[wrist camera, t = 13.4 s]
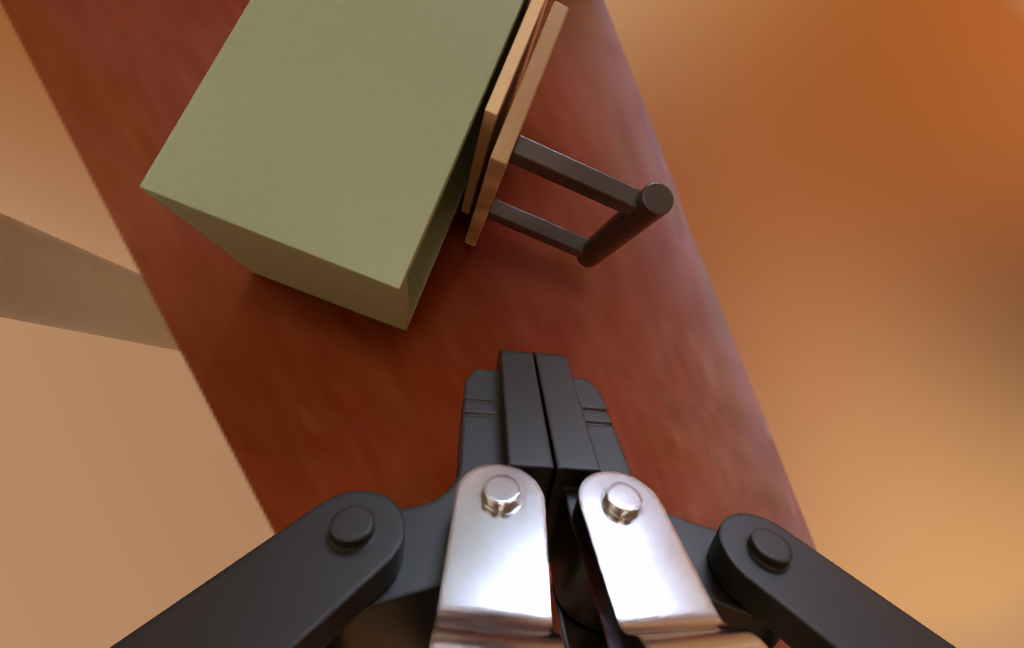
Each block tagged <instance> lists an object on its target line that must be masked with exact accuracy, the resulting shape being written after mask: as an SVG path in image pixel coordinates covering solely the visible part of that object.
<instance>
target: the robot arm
mask: <svg viewBox="0 0 1024 648" xmlns="http://www.w3.org/2000/svg"><path fill="white" fill-rule="evenodd" d="M606 410H607V409H606V406H605V404H604V401H603V399H602V396H601V393H600V392H599V391H598V390H597V389H596V388H595V387H594V386H593V385H592V384H591V383H590V382H589V381H588V380H587V379H583V378H573V377H572V374H571V371H570V367H569V364H568V361H567V358H566V356H565V355H556V354H545V353H535V352H534V353H533V354H532V352H523V351H512V350H501V349H500V351H499V354H498V360H497V366H496V371H491V370H479V369H475V370H474V372H473V373H472V374H471V375H470V377H469V378H468V379H467V380H466V382H465V388H464V396H463V405H462V413H461V422H460V431H459V442H458V457H457V472H456V482H455V483H454V485H453V486H452V487H451V488H450V489H449V491H447V492H446V493H445V494H444V495H442V496H441V497H439V498H437V499H436V500H433V501H431V502H429V503H425V504H422V505H418V506H414V507H410V508H405V509H401V510H400V508H399V507H398V506H397V504H395V503H394V502H393V501H392V500H391V499H389V498H388V497H386V496H384V495H382V494H379V493H375V492H371V491H351V492H346V493H342V494H339V495H336V496H334V497H331V498H329V499H327V500H326V501H324V502H322V503H321V504H319V505H318V506H316V507H315V508H313V509H312V510H310V511H309V512H308V513H306V514H305V515H303V516H302V517H300V518H299V519H297V520H296V521H294V522H293V523H291V524H290V525H289V526H287V527H286V528H284V529H283V530H281V531H280V532H278V533H277V534H275V535H274V536H272V537H271V538H270V539H268V540H267V541H265V542H264V543H262V544H261V545H259V546H258V547H256V548H255V549H253V550H252V551H251V552H249V553H248V554H246V555H245V556H243V557H242V558H240V559H239V560H237V561H236V562H234V563H233V564H232V565H230V566H229V567H227V568H226V569H224V570H223V571H221V572H220V573H218V574H217V575H216V576H214V577H213V578H211V579H210V580H208V581H207V582H205V583H204V584H202V585H201V586H199V587H198V588H196V589H195V590H194V591H192V592H191V593H189V594H188V595H186V596H185V597H183V598H182V599H181V600H179V601H178V602H176V603H175V604H173V605H172V606H170V607H169V608H167V609H166V610H164V611H163V612H162V613H160V614H159V615H157V616H156V617H154V618H153V619H151V620H150V621H148V622H147V623H145V624H144V625H142V626H141V627H140V628H138V629H137V630H135V631H134V632H132V633H131V634H129V635H128V636H126V637H125V638H123V639H122V640H121V641H119V642H118V643H116V644H115V645H113V646H112V647H111V648H774V647H775V645H776V644H777V642H778V641H779V640H780V639H782V640H783V641H784V642H785V643H786V644H788V645H789V646H790V647H791V648H956V647H954V646H953V645H951V644H950V643H949V642H947V641H946V640H944V639H943V638H941V637H940V636H938V635H937V634H935V633H934V632H933V631H931V630H929V629H928V628H927V627H925V626H924V625H922V624H921V623H920V622H918V621H917V620H915V619H914V618H912V617H911V616H909V615H908V614H906V613H905V612H903V611H902V610H901V609H899V608H898V607H896V606H895V605H893V604H892V603H891V602H889V601H887V600H886V599H885V598H883V597H882V596H880V595H879V594H878V593H876V592H875V591H873V590H872V589H870V588H869V587H867V586H866V585H864V584H863V583H861V582H860V581H859V580H857V579H855V578H854V577H853V576H851V575H850V574H849V573H847V572H846V571H844V570H843V569H841V568H840V567H838V566H837V565H835V564H834V563H833V562H831V561H830V560H828V559H827V558H825V557H824V556H822V555H821V554H820V553H818V552H817V551H815V550H814V549H812V548H811V547H809V546H808V545H806V544H805V543H804V542H802V541H801V540H799V539H798V538H796V537H795V536H793V535H792V534H791V533H789V532H788V531H786V530H785V529H783V528H782V527H780V526H778V525H777V524H775V523H773V522H771V521H769V520H767V519H764V518H762V517H759V516H756V515H752V514H745V513H738V514H733V515H730V516H728V517H726V518H725V519H724V520H723V521H722V523H721V525H720V527H719V529H718V530H714V529H711V528H708V527H705V526H702V525H699V524H696V523H693V522H690V521H687V520H684V519H681V518H678V517H676V516H673V515H671V514H669V513H667V512H666V511H665V509H664V507H663V505H662V503H661V502H660V500H659V498H658V497H657V496H656V494H655V493H654V492H653V491H652V490H651V489H650V488H649V487H648V486H646V485H645V484H644V483H642V482H641V481H639V480H638V479H636V478H634V477H632V475H631V472H630V469H629V467H628V464H627V461H626V459H625V456H624V454H623V451H622V448H621V446H620V443H619V440H618V438H617V435H616V433H615V430H614V427H613V426H612V422H611V420H610V417H609V414H608V413H607V412H606ZM548 562H550V564H551V571H552V578H553V581H552V584H551V588H550V580H549V563H548Z"/></svg>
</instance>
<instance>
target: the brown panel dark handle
mask: <svg viewBox="0 0 1024 648" xmlns="http://www.w3.org/2000/svg"><path fill="white" fill-rule="evenodd" d="M567 13H568V7H567V6H565V5H563V4H561V3H559V2H557V1H554V2H553V5H552V7H551V10H550V12H549V15H548V17H547V19H546V22H545V24H544V27H543V29H542V32H541V34H540V37H539V39H538V41H537V44H536V46H535V49H534V51H533V54H532V56H531V59H530V61H529V63H528V66H527V68H526V71H525V73H524V76H523V78H522V81H521V83H520V85H519V88H518V90H517V93H516V95H515V98H514V100H513V103H512V105H511V107H510V110H509V112H508V115H507V117H506V120H505V122H504V125H503V127H502V129H501V132H500V134H499V137H498V139H497V142H496V144H495V147H494V149H493V151H492V154H491V156H490V160H489V163H488V166H487V169H486V173H485V176H484V179H483V182H482V186H481V189H480V192H479V195H478V199H477V202H476V205H475V208H474V212H473V215H472V218H471V221H470V225H469V228H468V231H467V234H466V238H465V241H464V242H465V243H466V244H468V245H471V246H473V247H475V246H476V243H477V241H478V238H479V236H480V233H481V231H482V228H483V225H484V223H485V220H486V218H488V219H490V220H492V221H495V222H497V223H500V224H502V225H504V226H507V227H509V228H511V229H514V230H516V231H518V232H521V233H523V234H525V235H528V236H530V237H532V238H535V239H537V240H539V241H542V242H544V243H546V244H549V245H551V246H553V247H556V248H558V249H560V250H563V251H565V252H567V253H570V254H572V255H574V256H577V259H578V261H579V263H580V264H581V265H583V266H585V267H594V266H595V265H597V264H598V263H600V262H601V261H602V260H604V259H605V258H606V257H608V256H609V255H611V254H612V253H613V252H615V251H616V250H617V249H619V248H620V247H621V246H623V245H624V244H626V243H627V242H628V241H630V240H631V239H632V238H634V237H635V236H637V235H638V234H639V233H641V232H642V231H643V230H645V229H646V228H648V227H649V226H650V225H652V224H653V223H654V222H656V221H657V220H658V219H660V218H661V217H663V216H664V215H665V214H667V213H668V212H669V211H670V210H671V208H672V206H673V195H672V193H671V191H670V190H669V188H668V187H667V186H665V185H664V184H661V183H650V184H648V185H647V186H645V187H644V188H643V189H642V190H639V189H637V188H635V187H633V186H631V185H629V184H626V183H624V182H622V181H620V180H618V179H615V178H613V177H611V176H609V175H607V174H605V173H602V172H600V171H598V170H596V169H594V168H591V167H589V166H587V165H585V164H583V163H581V162H578V161H576V160H574V159H572V158H570V157H567V156H565V155H563V154H561V153H559V152H557V151H554V150H552V149H550V148H548V147H546V146H544V145H541V144H539V143H537V142H535V141H533V140H530V139H528V138H526V137H524V136H522V135H520V132H521V130H522V127H523V125H524V122H525V120H526V117H527V115H528V112H529V109H530V107H531V104H532V102H533V99H534V97H535V94H536V92H537V89H538V87H539V84H540V81H541V79H542V76H543V74H544V71H545V69H546V66H547V64H548V61H549V59H550V56H551V53H552V51H553V48H554V46H555V43H556V41H557V38H558V36H559V33H560V31H561V28H562V25H563V23H564V20H565V18H566V15H567ZM509 162H510V163H512V164H514V165H516V166H519V167H521V168H523V169H525V170H528V171H530V172H532V173H534V174H537V175H539V176H541V177H543V178H545V179H548V180H550V181H552V182H554V183H557V184H559V185H561V186H563V187H566V188H568V189H570V190H572V191H574V192H577V193H579V194H581V195H583V196H586V197H588V198H590V199H592V200H594V201H597V202H599V203H601V204H603V205H606V206H608V207H610V208H612V209H615V210H617V211H618V212H617V213H616V214H615V215H614V216H613V217H612V218H611V219H609V220H608V221H607V222H606V223H605V224H604V225H603V226H602V227H601V228H600V229H599V230H597V231H596V232H595V233H594V234H593V235H592V236H591V237H590V238H589V239H587V238H585V237H582V236H580V235H578V234H575V233H573V232H571V231H568V230H566V229H564V228H562V227H559V226H557V225H555V224H552V223H550V222H548V221H545V220H543V219H541V218H539V217H536V216H534V215H532V214H529V213H527V212H525V211H522V210H520V209H518V208H516V207H513V206H511V205H509V204H506V203H504V202H502V201H499V200H497V199H494V198H495V195H496V193H497V190H498V188H499V185H500V183H501V180H502V178H503V175H504V173H505V170H506V168H507V165H508V163H509Z"/></svg>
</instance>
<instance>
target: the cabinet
mask: <svg viewBox="0 0 1024 648" xmlns="http://www.w3.org/2000/svg"><path fill="white" fill-rule="evenodd" d="M547 2H548V0H531V2H530V0H250V2H249V3H248V5H247V7H246V8H245V10H244V12H243V13H242V15H241V17H240V18H239V20H238V22H237V23H236V25H235V27H234V29H233V30H232V32H231V34H230V35H229V37H228V39H227V40H226V42H225V44H224V45H223V47H222V49H221V50H220V52H219V54H218V55H217V57H216V59H215V60H214V62H213V64H212V65H211V67H210V69H209V70H208V72H207V74H206V75H205V77H204V79H203V81H202V82H201V84H200V86H199V87H198V89H197V91H196V92H195V94H194V96H193V97H192V99H191V101H190V102H189V104H188V106H187V107H186V109H185V111H184V112H183V114H182V116H181V117H180V119H179V121H178V122H177V124H176V126H175V127H174V129H173V131H172V133H171V134H170V136H169V138H168V139H167V141H166V143H165V144H164V146H163V148H162V149H161V151H160V153H159V154H158V156H157V158H156V159H155V161H154V163H153V164H152V166H151V168H150V169H149V171H148V173H147V174H146V176H145V178H144V179H143V181H142V183H141V185H140V188H141V189H142V190H144V191H145V192H146V193H148V194H149V195H150V196H152V197H153V198H154V199H156V200H157V201H158V202H160V203H161V204H162V205H164V206H165V207H166V208H168V209H169V210H170V211H172V212H173V213H174V214H176V215H177V216H178V217H180V218H181V219H182V220H184V221H185V222H186V223H188V224H189V225H190V226H191V227H193V228H194V229H195V230H197V231H198V232H199V233H201V234H202V235H203V236H205V237H206V238H207V239H209V240H210V241H211V242H213V243H214V244H215V245H217V246H218V247H219V248H221V249H222V250H223V251H225V252H226V253H227V254H229V255H230V256H231V257H233V258H234V259H235V260H237V261H238V262H239V263H241V264H242V265H243V266H245V267H246V268H247V269H249V270H250V271H251V272H253V273H255V274H257V275H260V276H263V277H265V278H268V279H271V280H273V281H276V282H278V283H281V284H284V285H286V286H289V287H291V288H294V289H297V290H299V291H302V292H305V293H307V294H310V295H312V296H315V297H318V298H320V299H323V300H326V301H328V302H331V303H333V304H336V305H339V306H341V307H344V308H347V309H349V310H352V311H354V312H357V313H360V314H362V315H365V316H367V317H370V318H373V319H375V320H378V321H381V322H383V323H386V324H388V325H391V326H394V327H396V328H399V329H402V330H404V331H407V328H408V326H409V323H410V321H411V319H412V316H413V314H414V311H415V309H416V307H417V304H418V302H419V299H420V297H421V295H422V292H423V290H424V287H425V285H426V283H427V280H428V278H429V275H430V273H431V271H432V268H433V266H434V263H435V261H436V258H437V256H438V254H439V251H440V249H441V246H442V244H443V242H444V239H445V237H446V234H447V232H448V230H449V227H450V225H451V222H452V220H453V218H454V215H455V213H456V210H457V208H458V206H459V203H460V201H461V198H462V196H463V194H464V191H465V189H466V191H465V196H464V200H463V204H462V208H461V211H462V212H464V213H466V214H469V213H470V211H471V208H472V206H473V203H474V201H475V198H476V196H477V193H478V191H479V188H480V186H481V184H482V181H483V179H484V176H485V173H486V169H487V166H488V163H489V160H490V156H491V154H492V151H493V149H494V147H495V144H496V142H497V139H498V137H499V134H500V132H501V129H502V127H503V125H504V122H505V120H506V117H507V115H508V112H509V110H510V107H511V105H512V103H513V100H514V98H515V95H516V93H517V90H518V88H519V85H520V83H521V80H522V77H523V74H524V71H525V68H526V65H527V62H528V59H529V56H530V53H531V50H532V47H533V44H534V41H535V38H536V35H537V32H538V29H539V26H540V23H541V20H542V17H543V14H544V11H545V8H546V5H547ZM529 3H530V4H529ZM528 6H529V7H528ZM466 186H467V187H466Z"/></svg>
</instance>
